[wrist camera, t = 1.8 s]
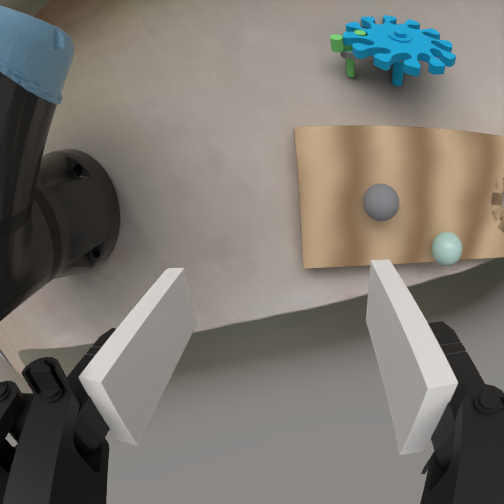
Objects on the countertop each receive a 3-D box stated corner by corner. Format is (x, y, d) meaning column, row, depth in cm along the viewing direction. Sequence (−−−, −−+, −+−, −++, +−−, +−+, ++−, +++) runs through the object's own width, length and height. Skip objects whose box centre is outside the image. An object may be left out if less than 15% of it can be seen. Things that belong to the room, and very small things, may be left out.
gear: (436, 16, 19) (473, 70, 15) (431, 61, 24) (459, 123, 20) (326, 8, 22) (332, 56, 18) (332, 55, 27) (337, 114, 23)
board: (302, 258, 32) (303, 268, 29) (294, 127, 27) (293, 127, 25) (538, 246, 27) (548, 253, 24) (547, 145, 22) (559, 147, 20)
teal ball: (425, 258, 27) (437, 272, 24) (428, 227, 26) (441, 238, 23) (451, 257, 27) (465, 270, 24) (455, 226, 26) (470, 237, 23)
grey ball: (359, 216, 27) (367, 226, 24) (359, 180, 26) (367, 187, 23) (392, 215, 26) (403, 225, 23) (393, 180, 25) (404, 187, 22)
